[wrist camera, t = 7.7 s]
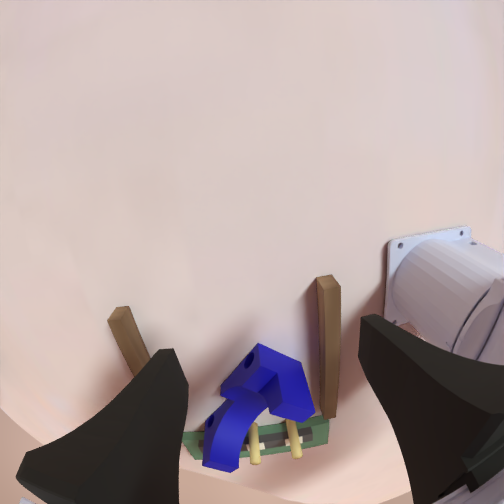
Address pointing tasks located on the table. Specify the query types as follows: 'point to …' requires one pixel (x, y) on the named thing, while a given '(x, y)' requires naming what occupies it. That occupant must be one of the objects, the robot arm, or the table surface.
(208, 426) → the cable clip
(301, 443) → the header board
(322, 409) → the guide rails
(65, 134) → the table surface
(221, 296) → the table surface
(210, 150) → the table surface
